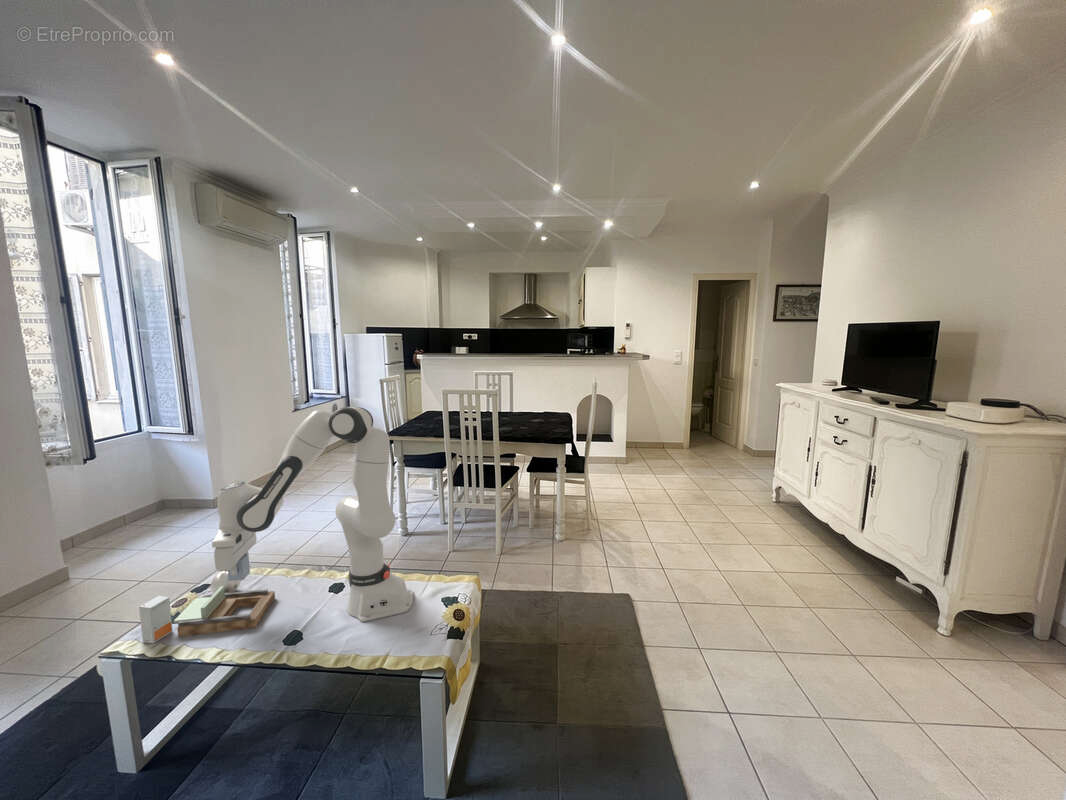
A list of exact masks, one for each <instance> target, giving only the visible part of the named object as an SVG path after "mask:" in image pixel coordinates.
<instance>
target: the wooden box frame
mask: <svg viewBox="0 0 1066 800" xmlns="http://www.w3.org/2000/svg"><path fill="white" fill-rule="evenodd" d="M275 593H276V592H275V590H272V591H271V590H270V591H269V589H268V588H267V589H266V588H265V589H256V590H246V591H235V592H233V593H225V598H224V599H223V601H222V602H221V603H220V604H219V605H218V606H217V608H216V609H215V610H214V611H213V612H212V613H211V615H210V616H209V617H208V618H205V619H195V620H186V621H180V622H179V623H177V637H185V636H194V635H201V634H202V635H203V634H213V633H222V632H229V631H230V632H231V631H238V630H239V631H240V630H246V629H255V628H257V627H258V625H259V623H260V622H261V621H262V619H263V617H264V616H265V614H266V613H267V612H268V610H269V608H270V607H271V605H272V604H273V603H274V601H275V599H276V596H275V595H276V594H275ZM213 594H214V593H212V594H205V595H203V596H202V598H205V597H211V596H212V595H213ZM251 606H254V607H253V608H252V609H251V611H250V612H249V613H245V614H235V615H233V613H234V612H235V611H236V610H237V608H240V607H251ZM230 615H231V616H230Z"/></svg>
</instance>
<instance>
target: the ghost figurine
mask: <svg viewBox="0 0 1066 800" xmlns="http://www.w3.org/2000/svg"><path fill="white" fill-rule="evenodd" d="M242 581H243V580H235V581H229V580H228V571H220V572H218V573H217V574H216V575H215V576H214V577H213V578H212V580H211V583H210V590H211V592H212V594H214V593H215V592H216V591H217V590H218V588H219V587H222V586H224V591H225V593H233V592H237V590H238V588H239V587H240V585H241V582H242Z"/></svg>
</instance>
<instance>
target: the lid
mask: <svg viewBox="0 0 1066 800" xmlns="http://www.w3.org/2000/svg"><path fill="white" fill-rule="evenodd" d="M212 594H213V595H212ZM212 594H211V595H212V596H211V597H205V598H203V597H197V598H194V599H193V600H192V601H191V602H190V603H189V605H187V607H186V608H185V609H184V610H183V611H182V612H180V614H179V615H178V616H177V617H176V618H175V619H173V623H174V624H178V623H179V622H180V621H186V620H195V619H205V618H208V617H209V616H210V615H211V613H212V612H213V611H214V610H215V609H216V608H217V606H218V605H219V604H220V603H221V602H222V601H223V599H224V598H225V591H224V586H222V587H219V588H218V590H217V591H216V592H215V593H212Z"/></svg>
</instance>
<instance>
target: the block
mask: <svg viewBox="0 0 1066 800" xmlns="http://www.w3.org/2000/svg"><path fill="white" fill-rule="evenodd" d="M249 556H250V553H249V552H248V554H245V555H244V556H243V557H242V558H241V559H240V560H239V561H238V562H237V565H236V567H237V568H239V570H238V571H239V572H238V573H237V575H231V573H230V570H229V571H228V580H229V581H235V580H242V581H244V580H245V579H246V578H247V577H248V576H249V575H250V573H251V570H250V557H249Z"/></svg>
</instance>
